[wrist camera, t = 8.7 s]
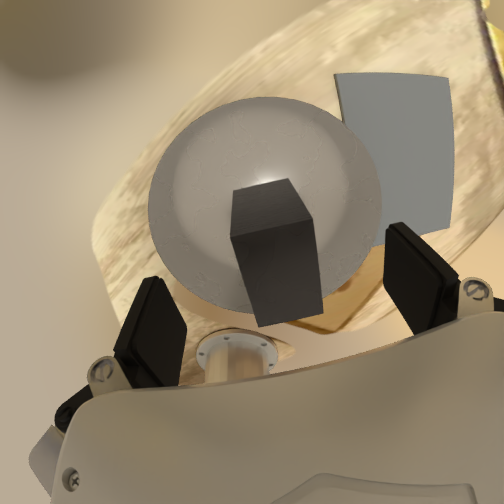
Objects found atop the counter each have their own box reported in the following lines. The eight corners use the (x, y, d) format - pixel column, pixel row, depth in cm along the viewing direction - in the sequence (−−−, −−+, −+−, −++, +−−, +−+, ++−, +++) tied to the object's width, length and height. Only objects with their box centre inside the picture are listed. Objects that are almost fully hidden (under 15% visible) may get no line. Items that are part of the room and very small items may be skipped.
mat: (447, 225, 30) (449, 227, 29) (354, 248, 31) (356, 250, 31) (445, 77, 20) (448, 77, 19) (333, 74, 21) (335, 73, 20)
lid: (371, 275, 18) (410, 341, 13) (197, 313, 19) (187, 389, 14) (357, 84, 12) (429, 80, 6) (125, 137, 13) (58, 166, 7)
